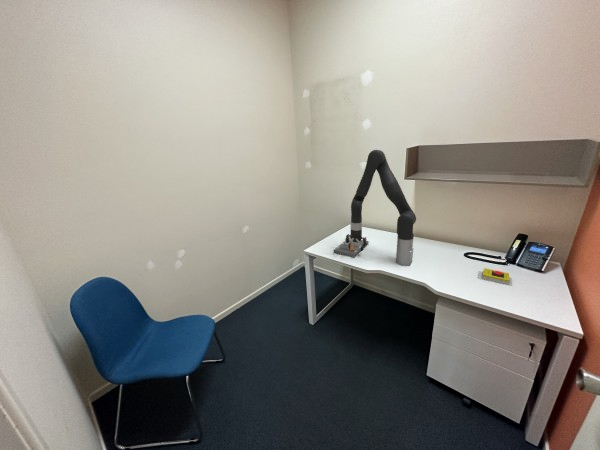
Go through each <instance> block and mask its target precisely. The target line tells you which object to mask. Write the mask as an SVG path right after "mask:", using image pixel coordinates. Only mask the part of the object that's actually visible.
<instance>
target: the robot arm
mask: <svg viewBox="0 0 600 450" xmlns="http://www.w3.org/2000/svg"><path fill="white" fill-rule="evenodd" d="M376 171H377V174H378V175H379V176H378V177H379V179H380V184H381V187H382V190H383V191H384V193H385V195H386V197H387V198H388V199H389V201H390V202H391V203H392V204H393V205H394V206H395V208H396V209H397V211H398V214H399V216H398V217H397V223H396V235H397V241H396V254H395V262H396V264H398V265H400V266H411V265H412V263H413V257H414V248H413V247H414V246H413V245H414V237H415V236H414V235H415V234H414V225H415V223H416V221H417V216H416V213H415V212H414V211H413V209H412V207H411V206H410V204H409V203H408V200H407V198H406V196H405V195H404V191H403V190H402V188H401V185H400V183H399V182H398V179H397V177H395V175H394V173H393V171H392V170H391V168H390V165H389V163H388V161H387V158H386V154H385V153H384V151H383V150H380V149H372V151H370V152H369V153H368V155H367V159H366V164H365V168H364V172H363V174H362V177H361V179H360V181H359V184H358V186H357V188H356V192H355V194H354V196H353V198H352V201H351V204H350V213H351V215H350V226H349V227H350V233H347V234H346V235H345V236H346V237H345V238H346V243H348V244H349V249H350V244H351V242H352V241H353V242H356V243H359V244H360V246H361V252H363V251H364V250H365V248H366V247H367V246H368V245H367V243H366V241H367V236H363V235H362V234H363V223H362V222H363V217H362V210H363V202H364V200H365V198H366V196H367V195H368V193H369V191H370V188H371V186H372V181H373V178H374V176H375V173H376ZM350 234H351V235H350ZM349 238H351V240H350V241H349ZM362 240H363V242H362ZM366 245H367V246H366ZM365 246H366V247H365ZM364 247H365V248H364ZM361 252H360V253H361Z"/></svg>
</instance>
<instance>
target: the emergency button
mask: <svg viewBox="0 0 600 450" xmlns="http://www.w3.org/2000/svg"><path fill="white" fill-rule="evenodd" d="M477 279H478V280H483V281H488V282H492V283H496V284H501V285H506V286H510V287H511V286H513V278H512V277H510V273H509V272H506V271H500V270H497V269H496V270H494V269H489V268H486V267H485V268H483V271H480V270H479V271H478V273H477Z"/></svg>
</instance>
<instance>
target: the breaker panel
mask: <svg viewBox="0 0 600 450" xmlns="http://www.w3.org/2000/svg"><path fill="white" fill-rule="evenodd" d="M349 235H351V233H349ZM350 240H351V238H350V237H349V241H350ZM361 240H362V239H361ZM362 242H363V240H362ZM369 242H370V241H369V240H366V243H367V245H366V246H365V247H364V249H365V248H366V247H367V246H368V245H369ZM351 244H354V250H353V251H351V250H350V249H349V244H348V243H346V237H345V238H344V240H343V242H342V243H340V245H337V247H335V248H334V249H333V254H335V255H341V256H345V257H349V258H353V259H355V258H356V257H357V256H358V255H359V254H360V253H361V246H360V244H359V243H356V242H353V241H352V242H351Z"/></svg>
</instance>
